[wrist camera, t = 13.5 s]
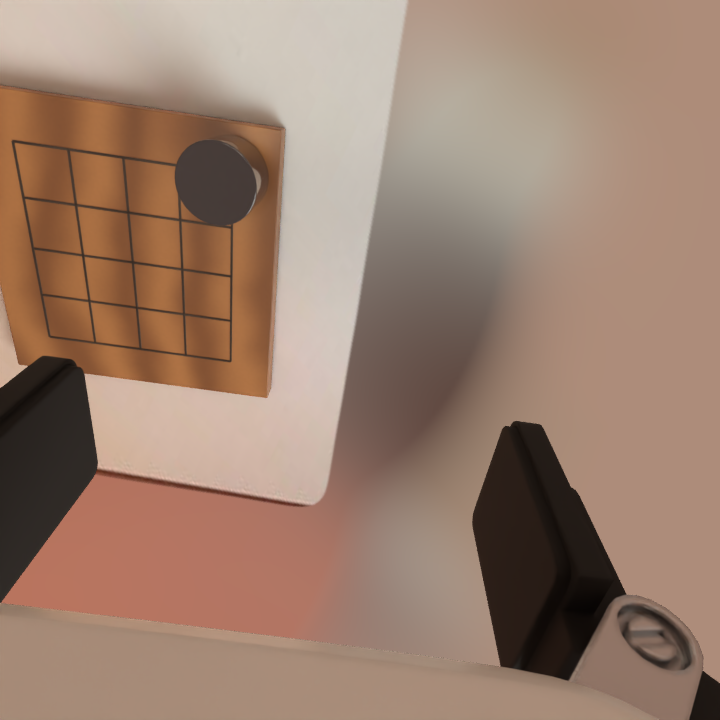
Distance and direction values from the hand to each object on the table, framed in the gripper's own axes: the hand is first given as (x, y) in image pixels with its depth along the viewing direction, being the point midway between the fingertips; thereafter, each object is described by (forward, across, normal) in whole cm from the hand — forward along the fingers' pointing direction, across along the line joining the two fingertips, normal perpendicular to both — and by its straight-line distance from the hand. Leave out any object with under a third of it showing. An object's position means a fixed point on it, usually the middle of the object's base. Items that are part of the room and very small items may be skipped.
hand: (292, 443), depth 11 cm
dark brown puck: (+25, +8, -1) cm, 26 cm away
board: (+26, +15, +6) cm, 31 cm away
